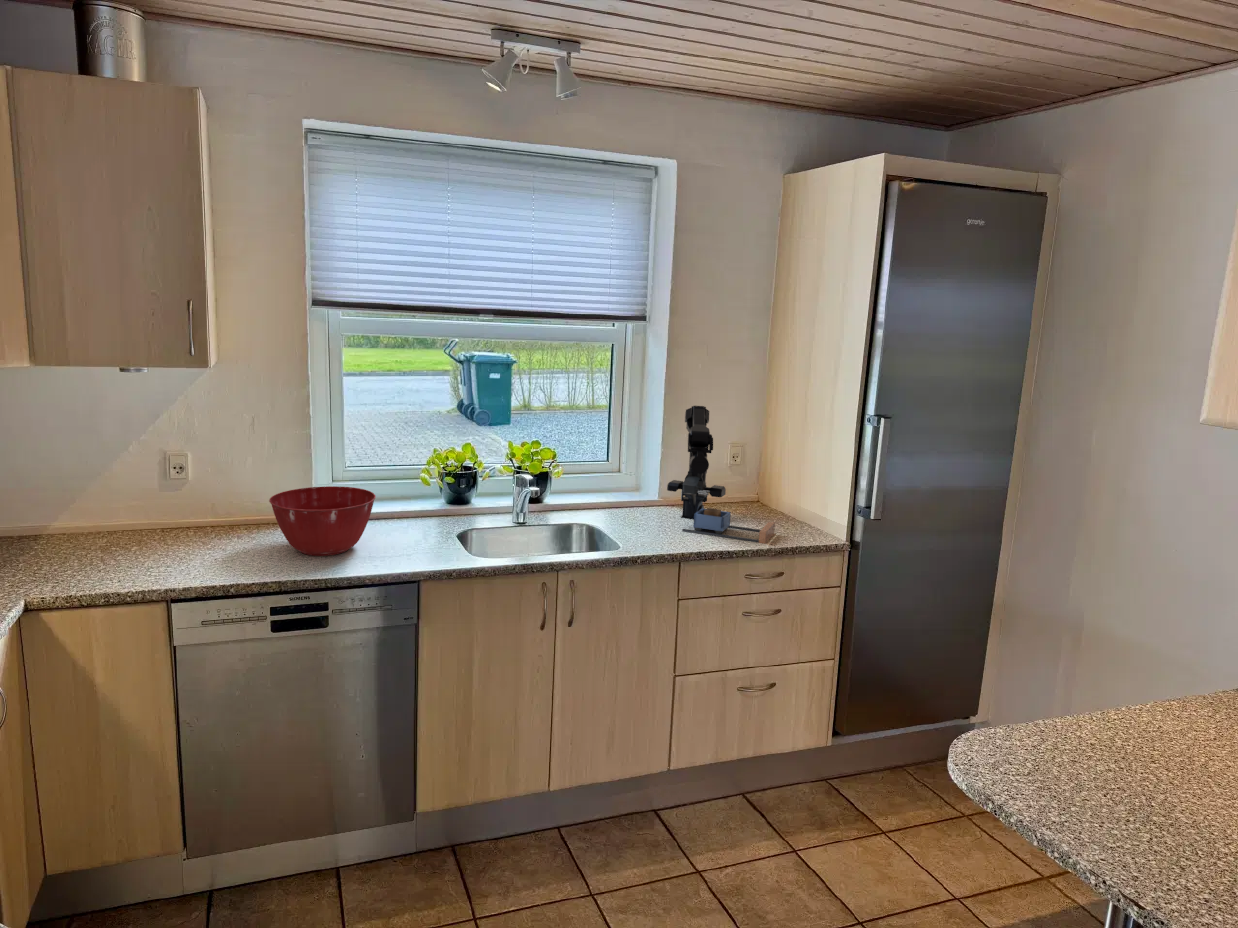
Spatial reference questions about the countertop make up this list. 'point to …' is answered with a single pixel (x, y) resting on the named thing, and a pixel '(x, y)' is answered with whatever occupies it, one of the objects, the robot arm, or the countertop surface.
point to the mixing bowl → (323, 517)
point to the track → (764, 532)
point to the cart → (711, 521)
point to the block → (712, 512)
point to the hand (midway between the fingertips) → (694, 513)
